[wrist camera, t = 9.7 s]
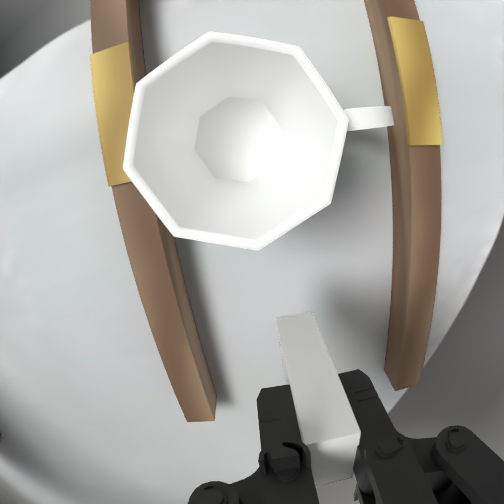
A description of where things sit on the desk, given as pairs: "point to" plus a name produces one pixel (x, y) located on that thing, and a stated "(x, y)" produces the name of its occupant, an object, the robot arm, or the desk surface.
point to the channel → (403, 195)
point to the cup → (238, 140)
